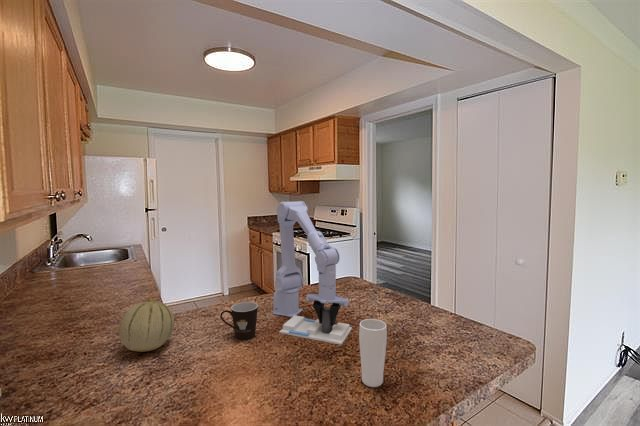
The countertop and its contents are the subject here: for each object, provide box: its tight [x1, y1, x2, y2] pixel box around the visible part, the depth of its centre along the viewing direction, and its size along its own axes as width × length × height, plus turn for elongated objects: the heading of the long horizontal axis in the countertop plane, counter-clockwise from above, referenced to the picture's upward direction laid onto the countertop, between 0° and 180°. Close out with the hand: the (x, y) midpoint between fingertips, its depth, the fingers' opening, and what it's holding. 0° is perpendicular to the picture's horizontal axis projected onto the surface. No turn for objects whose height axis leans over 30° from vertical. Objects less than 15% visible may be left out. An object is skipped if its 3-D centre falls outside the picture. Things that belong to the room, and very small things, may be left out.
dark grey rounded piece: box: [322, 307, 333, 334], centre depth 108 cm, size 4×10×8 cm, turn 158°
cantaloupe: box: [118, 297, 175, 353], centre depth 95 cm, size 15×15×15 cm
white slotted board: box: [279, 315, 353, 345], centre depth 107 cm, size 22×12×2 cm, turn 68°
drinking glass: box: [358, 318, 388, 388], centre depth 78 cm, size 7×7×15 cm
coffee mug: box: [219, 301, 259, 342], centre depth 104 cm, size 12×9×10 cm
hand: (327, 323), depth 105 cm, fingers closed on dark grey rounded piece, 4 cm apart
